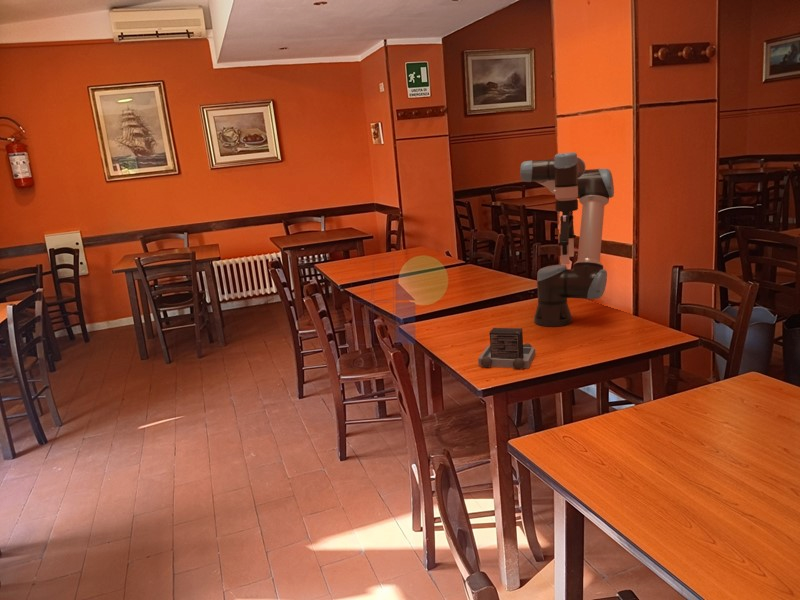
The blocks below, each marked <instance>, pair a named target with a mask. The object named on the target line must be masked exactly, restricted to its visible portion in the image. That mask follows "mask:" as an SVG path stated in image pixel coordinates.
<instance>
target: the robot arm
mask: <svg viewBox="0 0 800 600" xmlns="http://www.w3.org/2000/svg"><path fill="white" fill-rule="evenodd" d="M519 174H520V179H521V180H522V182H525V183H531V182H536V183H537V184H539V185H542V186H543V187H544V188H545V187H546V188H547V189H548V191H549V192H550V193H551V194H553V195H555V199H556V200H554V201H555V204H554V206H555V211H556V212H558V213H560V212H561V213H562V215H560V234H559V235H560V236H559V242H558V243H557V245H558V246H560V264H555V265H554V264H553V265H548V266H545V267H542V268H539V270H538V271H537V274H536V275H537V279H536V283H537V307H536V310H535V313H534V317H533V320H534V321H533V322H534V323H535V324H536V325H537V326H541V327H553V328H554V327H563V326H567V325H569V324H571V323H572V322H573V317H572V313H571V310H570V308H569V304H568V299H583V300H584V299H585V300H586V299H588V300H593V299H594V300H597V299H600V298H602V297H603V295H604V293H605V291H606V288H607V282H608V272H607V270H606V269H605V268H604V264H602V263H601V251H602V239H603V228H604V227H603V226H604V216H605V207H606V205H608V204H609V201H610V198H611V199H612V198H613V197H614V196H615V195H614V194H615V188H614V186H615V185H614V179H613V174H612V171H611V169H609V168H593V169H591V168H590V169H586V163H585V161H584V160H583V159H582V158H581V157H579V156H578V154H577V152H562V153H557V154H555V155H554V158H550V159H539V160H536V159H535V160H526V161H525V160H524V161H522V162H521V164H520V170H519ZM579 203H580V204H581V205H582V206H581V216H580V217H581V220H580V227H579V228H580V229H579V231H580V232H579V237H578V238H579V241H578V251H577V260H576V261H575V262H574V263H573V265H572V269H571V268H568V267H567V265H570V261H571V260H570V258H571V257H575V247H574V245H575V242H574V241H575V240H574V239H575V238H576V234H575V230H574V215H573V214H574V211H575V212H576V211H578V210H579Z"/></svg>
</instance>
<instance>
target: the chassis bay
mask: <svg viewBox="0 0 800 600" xmlns="http://www.w3.org/2000/svg"><path fill="white" fill-rule="evenodd" d="M523 355H524V356H523V358H522V359H521V358H516V359H499V358H491V349H490V344H489V345H487V346H486V347H485V349H484V350H483V352H482V353H481V354H480V356H479V357H478V358H477V360H478V362H477V363H478V366H479V367H483V368H485V369H488V368H490V367H491V368H492V367H493V368H496V367H497V368H507V369H508V368H512V369H516V370H517V371H518V370H522V369H529V368H530V366H531V365H532V362H533V360H534V358H535V356H536V347H533V345H531V344H530V343H526V342H525V343H523Z"/></svg>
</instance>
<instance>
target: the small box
mask: <svg viewBox="0 0 800 600" xmlns="http://www.w3.org/2000/svg"><path fill="white" fill-rule="evenodd" d="M523 333H524V332H523V327H522V328H521V327H518V328H517V327H515V328H514V327H493V328H491V330H490V331H489V346H490V349H491V358H499V359H516V358H521V359H522V358H523V356H524V355H523V345H524V340H523V339H524V336H523V335H524V334H523Z"/></svg>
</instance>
